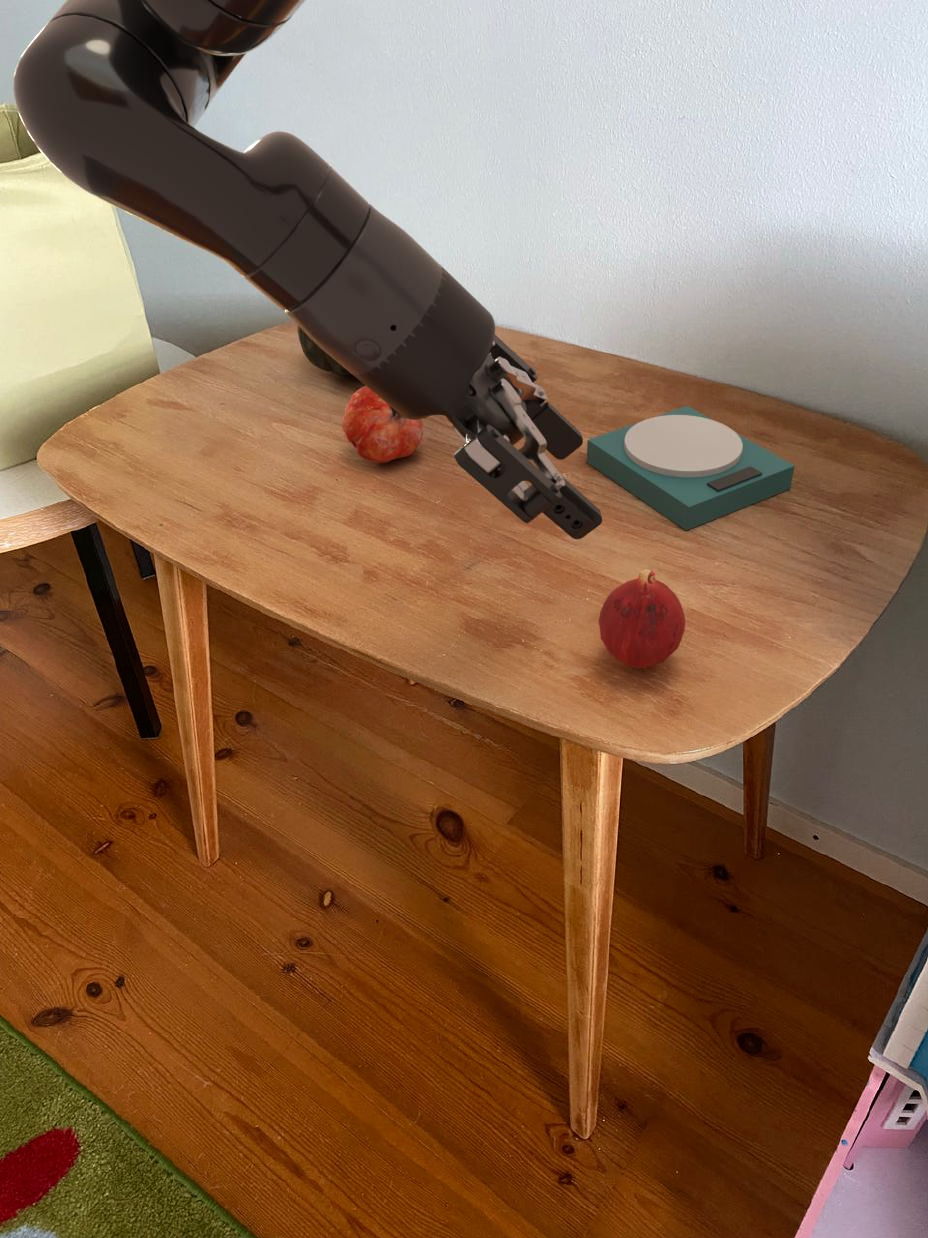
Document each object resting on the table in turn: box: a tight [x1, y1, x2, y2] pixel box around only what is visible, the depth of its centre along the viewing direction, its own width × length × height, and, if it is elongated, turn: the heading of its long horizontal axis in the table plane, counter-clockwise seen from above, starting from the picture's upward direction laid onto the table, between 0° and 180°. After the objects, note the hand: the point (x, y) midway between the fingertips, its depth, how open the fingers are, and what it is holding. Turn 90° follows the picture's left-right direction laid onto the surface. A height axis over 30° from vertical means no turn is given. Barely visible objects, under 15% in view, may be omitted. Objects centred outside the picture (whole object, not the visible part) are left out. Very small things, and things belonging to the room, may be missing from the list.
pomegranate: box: [341, 385, 424, 464], centre depth 92 cm, size 7×7×10 cm
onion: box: [598, 567, 686, 669], centre depth 67 cm, size 6×6×8 cm
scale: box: [586, 405, 795, 531], centre depth 89 cm, size 14×12×3 cm
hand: (580, 486), depth 62 cm, fingers open, 8 cm apart
